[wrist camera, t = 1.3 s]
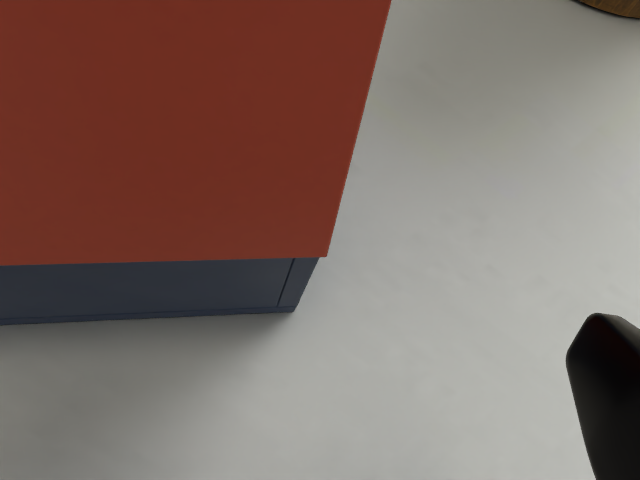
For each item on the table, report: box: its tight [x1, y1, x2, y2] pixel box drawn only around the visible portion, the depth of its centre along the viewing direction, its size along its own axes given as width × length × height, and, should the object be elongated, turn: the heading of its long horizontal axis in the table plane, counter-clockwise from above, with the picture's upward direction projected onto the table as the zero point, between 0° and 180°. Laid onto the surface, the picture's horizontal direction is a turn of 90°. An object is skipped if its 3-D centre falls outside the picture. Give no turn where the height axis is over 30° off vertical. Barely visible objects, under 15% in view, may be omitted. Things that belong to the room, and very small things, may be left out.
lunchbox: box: [0, 257, 319, 325], centre depth 21 cm, size 15×13×6 cm
